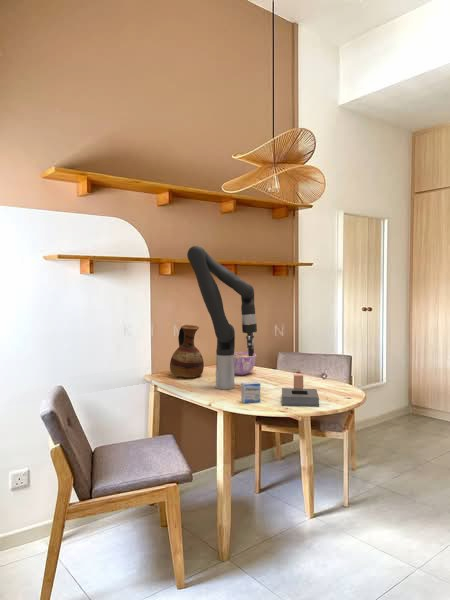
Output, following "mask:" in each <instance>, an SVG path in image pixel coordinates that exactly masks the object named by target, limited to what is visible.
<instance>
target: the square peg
mask: <svg viewBox="0 0 450 600" xmlns="http://www.w3.org/2000/svg"><path fill="white" fill-rule="evenodd" d="M293 388H301V389H304V373H293Z"/></svg>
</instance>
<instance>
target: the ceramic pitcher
mask: <svg viewBox="0 0 450 600" xmlns="http://www.w3.org/2000/svg"><path fill="white" fill-rule="evenodd" d="M199 329H200V326H197V325H194V324H193V325H192V324H185V325H180V329H179V331H178V337H177V338H178V339H177V340H178V348H177V349H176V350H175V351H174V352H173V354H172V356H171V358H170V362H169V370H170V373H171V374H172V375H174V376H176V377H179V378H189V379H191V378H196V377H199V376H201V375H202V374H203V373H204V368H205V366H204V365H205V364H204V358H203V357H204V356H203V355H202V353H201V351H200V349H198V348H197V347H196V346H195V336H196V333H197V331H198V330H199Z"/></svg>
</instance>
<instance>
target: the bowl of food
mask: <svg viewBox="0 0 450 600" xmlns="http://www.w3.org/2000/svg"><path fill="white" fill-rule="evenodd" d="M256 359H257V354H256V353H255V352H254V353H253V356H249V354H248V351H234V376H244V375H245V376H246V375H247V374H249V373H250V372H252V371H253V369H254V367H255V363H256Z"/></svg>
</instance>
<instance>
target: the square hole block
mask: <svg viewBox="0 0 450 600" xmlns="http://www.w3.org/2000/svg"><path fill="white" fill-rule="evenodd" d="M319 405H320V397H319V393H318V390H317V388H303V389H301V388H294V387H291V388H290V387H281V406H283V407H284V406H286V407H289V406H290V407H292V406H293V407H317V408H319V407H320V406H319Z"/></svg>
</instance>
